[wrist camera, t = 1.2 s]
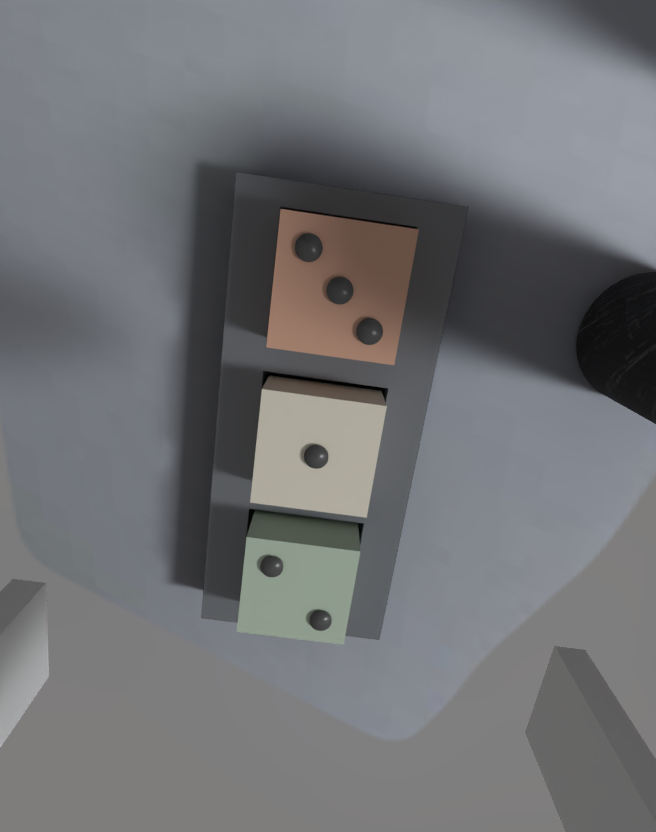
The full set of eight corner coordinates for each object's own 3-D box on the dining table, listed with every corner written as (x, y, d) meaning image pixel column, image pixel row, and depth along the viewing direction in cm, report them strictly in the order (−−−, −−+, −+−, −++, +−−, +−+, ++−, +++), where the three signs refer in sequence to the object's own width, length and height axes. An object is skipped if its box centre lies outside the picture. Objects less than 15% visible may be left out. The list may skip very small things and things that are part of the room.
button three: (286, 215, 24) (280, 208, 21) (408, 233, 25) (419, 229, 21) (273, 337, 26) (265, 347, 23) (387, 353, 26) (394, 366, 23)
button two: (255, 509, 29) (245, 539, 26) (357, 523, 29) (360, 553, 26) (245, 597, 31) (236, 634, 28) (342, 609, 31) (343, 647, 28)
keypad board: (245, 180, 26) (236, 171, 23) (456, 211, 26) (468, 206, 24) (210, 592, 33) (201, 618, 31) (375, 612, 33) (379, 639, 31)
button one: (269, 375, 27) (261, 390, 24) (381, 390, 27) (387, 407, 24) (258, 478, 28) (249, 504, 25) (363, 492, 29) (366, 519, 26)
